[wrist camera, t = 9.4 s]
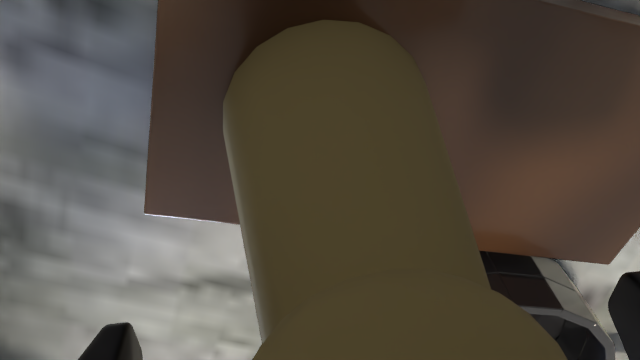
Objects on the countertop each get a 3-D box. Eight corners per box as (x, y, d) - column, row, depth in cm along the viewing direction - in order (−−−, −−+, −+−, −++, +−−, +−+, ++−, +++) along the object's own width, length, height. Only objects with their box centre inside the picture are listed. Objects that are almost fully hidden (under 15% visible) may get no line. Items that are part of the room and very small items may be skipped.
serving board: (150, 186, 17) (143, 215, 16) (172, -106, 12) (164, -94, 11) (589, 239, 22) (609, 265, 20) (740, 41, 17) (778, 60, 15)
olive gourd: (175, 114, 14) (63, 631, 5) (349, -32, 12) (602, 392, 4) (311, 229, 17) (377, 668, 9) (464, 127, 15) (744, 553, 7)
